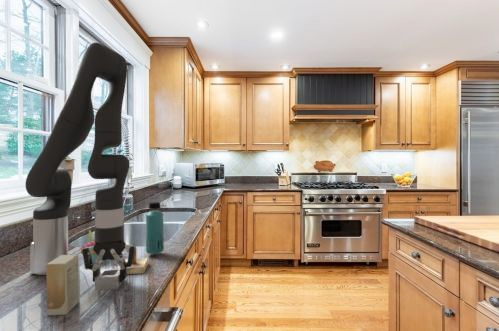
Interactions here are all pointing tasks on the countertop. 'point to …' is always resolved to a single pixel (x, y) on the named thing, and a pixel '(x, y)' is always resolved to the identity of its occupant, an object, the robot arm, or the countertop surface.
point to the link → (108, 279)
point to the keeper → (137, 265)
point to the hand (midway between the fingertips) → (110, 281)
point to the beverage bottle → (154, 230)
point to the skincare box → (62, 284)
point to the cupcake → (90, 244)
